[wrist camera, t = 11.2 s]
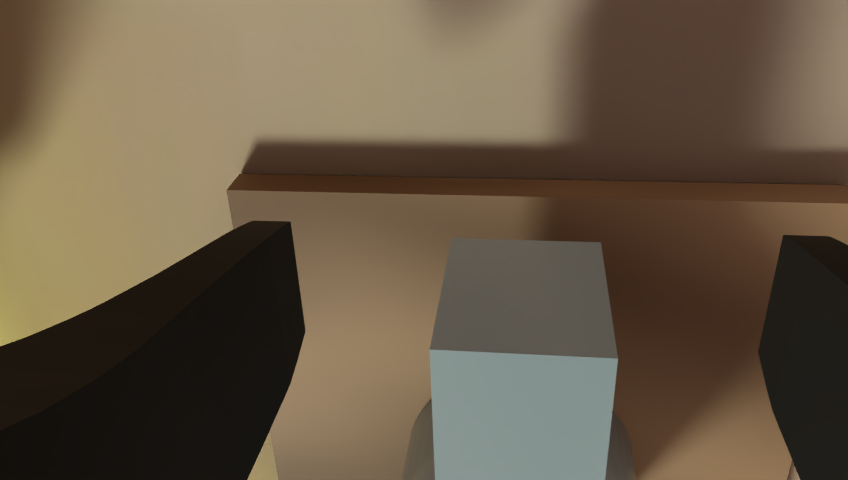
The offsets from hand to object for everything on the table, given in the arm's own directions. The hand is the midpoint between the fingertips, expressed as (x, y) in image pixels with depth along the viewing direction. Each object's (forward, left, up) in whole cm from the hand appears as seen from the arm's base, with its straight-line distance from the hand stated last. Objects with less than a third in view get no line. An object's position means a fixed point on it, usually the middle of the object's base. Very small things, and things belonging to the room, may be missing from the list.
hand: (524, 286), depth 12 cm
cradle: (-9, 0, -4) cm, 10 cm away
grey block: (-5, 0, -3) cm, 6 cm away
